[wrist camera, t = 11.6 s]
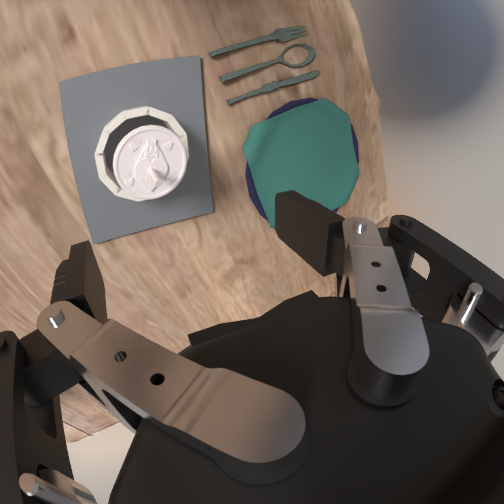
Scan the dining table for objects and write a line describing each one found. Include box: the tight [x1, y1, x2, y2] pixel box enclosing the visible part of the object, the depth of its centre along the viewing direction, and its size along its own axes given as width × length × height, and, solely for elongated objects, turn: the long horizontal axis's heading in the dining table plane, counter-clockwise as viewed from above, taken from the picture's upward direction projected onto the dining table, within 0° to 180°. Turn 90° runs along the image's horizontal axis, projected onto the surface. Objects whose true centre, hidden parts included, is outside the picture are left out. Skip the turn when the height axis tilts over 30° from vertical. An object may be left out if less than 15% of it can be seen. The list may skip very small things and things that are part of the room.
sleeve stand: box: [59, 56, 213, 244], centre depth 29 cm, size 20×16×5 cm
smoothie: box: [113, 125, 187, 200], centre depth 25 cm, size 6×6×14 cm
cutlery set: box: [209, 26, 359, 228], centre depth 38 cm, size 20×30×2 cm, turn 19°
